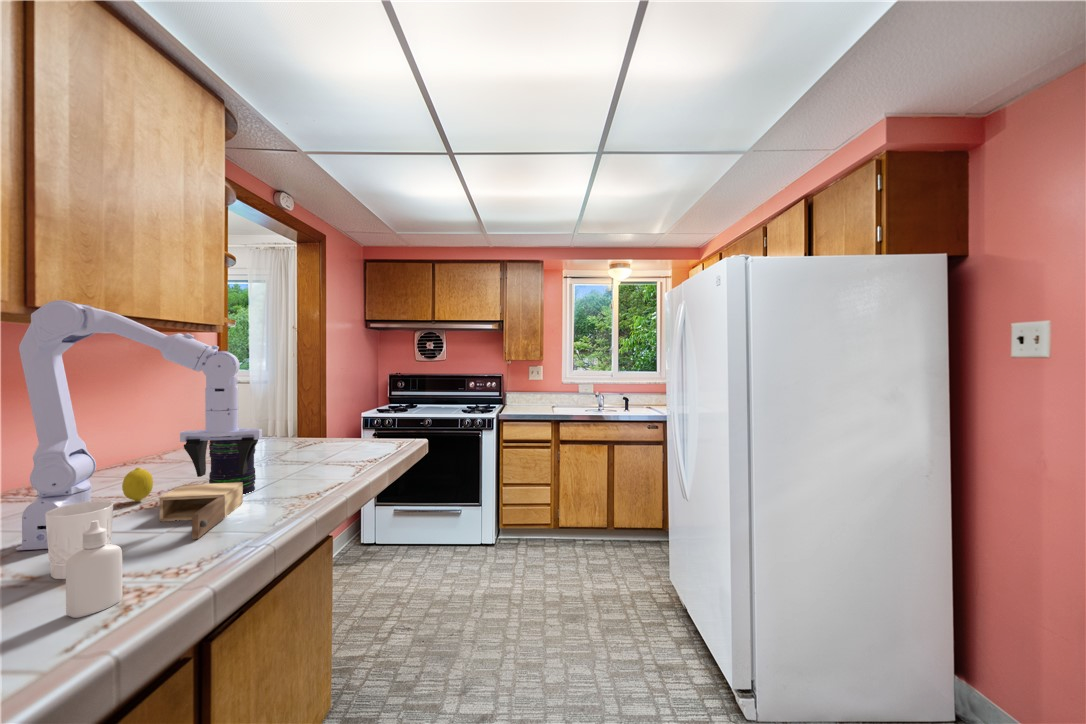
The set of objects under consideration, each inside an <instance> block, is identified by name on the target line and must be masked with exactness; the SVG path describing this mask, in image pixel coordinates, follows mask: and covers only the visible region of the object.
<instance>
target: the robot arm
mask: <svg viewBox="0 0 1086 724" xmlns="http://www.w3.org/2000/svg"><path fill="white" fill-rule="evenodd" d="M95 334H114V335H118V336H121V337H124V338H126V339H128V340H131V341H134V342H138V343H140V344H143V345H146V346H148V347H152V348H154V349H156V350H158V351H159V352H160V353H161V356H162V358H163V359H164V360H166V361H169V362H172V363H174V364H176V365H180V366H182V367H185V368H187V369H190V370H192V371H195V372H202V373H203V375H204V376H205V383H206V385H205V390H204V391H205V392H204V395H205V397H204V398H205V399H204V400H205V401H204V402H205V403H204V404H205V407H204V408H205V409H204V410H205V411H204V415H205V422H204V423H205V427H204V428H205V429H200V430H199V429H198V430H183V431H180V432H179V442H180V443H181V442H182V443H185V444H183V449H184V450H185V452H186V453H187V455H188V457H190V460H191V461H192V463H193V467H194V468H195V469H194V470H195V472H196V477H198V478H200V477H203V476H205V475H206V473H207V464H206V462H207V461H206V459H207V447H208V442H209V441H210V440H237V439H242V441H239V442H237V447H238V453H239V475H244V474H245V473H246V472H247V466H248V463H249V459H250V457H251V454H252V452H253V450H254V448H255V449H256V445H257V444H258V443H259V442H258V441H259V440H261V439H263V429H262V428H239V387H238V382H239V380H238V375H237V373H239V369H240V365H241V364H240V361H239V359H238V357H237V356H236V355H234V354H233V353H231V352H230V351H226V350H219V349H220V346H218V345H215V344H212V345H210V344H207V343H205V342H202V341H200V340H198V339H195V336H194V335H192V334H191V333H188V332H187V333H185V334H183V333H179V332H178V333H175V334H171V335H168V334H165V333H162V332H160V331H158V330H156V329H153V328H151V327H148V326H146V325H144V324H142V323H140V322H137V321H135V320H133V319H131V318H129V317H125V316H123V315H121V314H118V313H115V312H111V311H109V310H104V309H100V308H96V307H93V306H91V305H88V304H81V303H76V302H75V303H74V302H72V301H68V300H64V299H63V300H61V299H59V300H51V301H49V302H47V303H45V304H43V305H42V306H41V307H39V308H38V309H36V310H34V311H33V312H32V313H31V314H30V324H29V326H28V328H27V329H26V332H25V333H24V336H23V337H22V339H21V342H20V343H19V347H18V350H19V355H20V360H21V365H22V370H23V373H24V379H25V384H26V389H27V393H28V399H29V404H30V408H31V413H32V416H33V421H34V426H35V431H36V435H37V443H38V445H37V447H36V450H35V451H34V453H33V456H32V460H33V461H32V462H33V468H32V471H31V472H30V474H29V475H30V476H29V483H30V485H31V487H32V488H33V489H34V490H35V491H36V493H37V494H36V498H35V500H34V501H33V502H32V503H30V504H28V505H27V506H26V508H25V509H24V510H23V512H22V515H21V523H22V524H21V544H20V545H19V546H17V547H16V548H15V550H16V551H29V550H48V546H47V532H46V517H45V514H46V512H48V511H50V510H52V509H55V508H58V507H62V506H66V505H71V504H76V503H82V502H91V501H92V483H91V482H90V480H89V479H90V478H92V476H93V475H94V474H95V472H96V470H97V462H96V459H95V458H94V457H93V455H92V454H91V453H90V452H89V451H88V448H87V445H86V442H85V441H84V440H83V439H82V438H81V437H80V435H79V434H78V428H77V424H76V418H75V415H74V414H75V413H74V409H73V404H72V399H71V394H70V389H69V385H68V380H67V375H66V370H65V365H64V361H63V354H64V353H65V352H67V351H68V350H69V349H70V348H71V347H73V346H74V345H75V344H76V343H78V342H80V341H82V340H85V339H87V338H89V337H91V336H93V335H95ZM223 436H231V437H223ZM237 436H238V437H237Z"/></svg>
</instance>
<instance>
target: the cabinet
mask: <svg viewBox="0 0 1086 724" xmlns="http://www.w3.org/2000/svg"><path fill="white" fill-rule="evenodd" d="M220 496H225V518H226V517H227V515H228V516H229V515H230V514H231V512H232V511H233V510H234V511H235V510H237V509H238V508H239V507H240V506H242V505H243V504H244V503H243V501H244V497H243V496H244V495H243V482H237V483H214V484H209V483H196V484H195V483H193V484H182V485H181V486H178V487H177V488H175V489H172V490H171V491H169V492H167V493H166V494H163V495H162V496H160V497H159V498H158V499H159V501H158V502H159V505H158V507H159V509H158V510H159V515H158V516H159V517H158V518H159V522H160V521H162V522H174V521H175V520H177V521H175V522H179V520H180V521H192V515H193V514H194V513H196V512H197V511H199V510H200V509H202V508H203V507H205V506H206V505H208V504H209V503H211V502H212V501H214V500H215V499H217V498H218V497H220ZM242 503H243V504H242ZM241 504H242V505H241ZM238 506H239V507H238ZM237 507H238V508H237ZM236 508H237V509H236ZM234 511H233V512H234Z"/></svg>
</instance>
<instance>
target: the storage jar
mask: <svg viewBox="0 0 1086 724" xmlns="http://www.w3.org/2000/svg"><path fill="white" fill-rule="evenodd" d="M223 437H231V436H223ZM237 437H238V436H237ZM239 441H242V439H237V440H209V445H208V446H209V449H208V450H209V453H208V455H209V457H210V472H209V473H208V474H209V479H208V484H214V483H237V482H243V494H245V495H247V494H246V493H249V492H251V493H253V492H255V491H254V490H256V486H255V484H256V468H255V453H256V451H257V450H256V447H255V448H254V450H253V452H252V454H251V457H250V459H249V463H248V466H247V472H246V473H245V474H244V475H239V453H238V447H237V442H239ZM252 491H253V492H252ZM249 494H250V493H249Z"/></svg>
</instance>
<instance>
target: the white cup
mask: <svg viewBox="0 0 1086 724" xmlns="http://www.w3.org/2000/svg"><path fill="white" fill-rule="evenodd" d="M113 515H114V502H112V501H108V500H107V501H106V500H94V501H93V500H91V502H82V503H76V504H71V505H66V506H62V507H58V508H55V509H52V510H50V511H48V512H46V514H45V517H46V532H47V546H48V548H47V550H48V551H47V552H48V553H47V554H48V560H49V571H50V577H52V579H54V580H66V562H67V560H68V559H69V558H70V557H71V556H73V555H74V554H76V553H77V552H79V551H81V550H83V549H84V548H83V533H84V532H85V531H87V530H89V529H90V525H91V521H94V520H98V521H99V525H100V527H101V528H105V529H107V544H112V537H113V536H112V535H113V522H114V521H113V519H114V516H113Z"/></svg>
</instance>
